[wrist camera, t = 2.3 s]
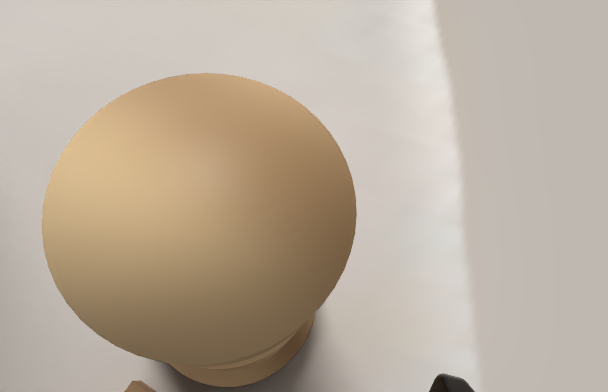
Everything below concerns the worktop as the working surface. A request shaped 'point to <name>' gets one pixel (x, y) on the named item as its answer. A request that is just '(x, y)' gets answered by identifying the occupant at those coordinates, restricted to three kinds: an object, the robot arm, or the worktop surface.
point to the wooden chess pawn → (201, 225)
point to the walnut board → (138, 387)
